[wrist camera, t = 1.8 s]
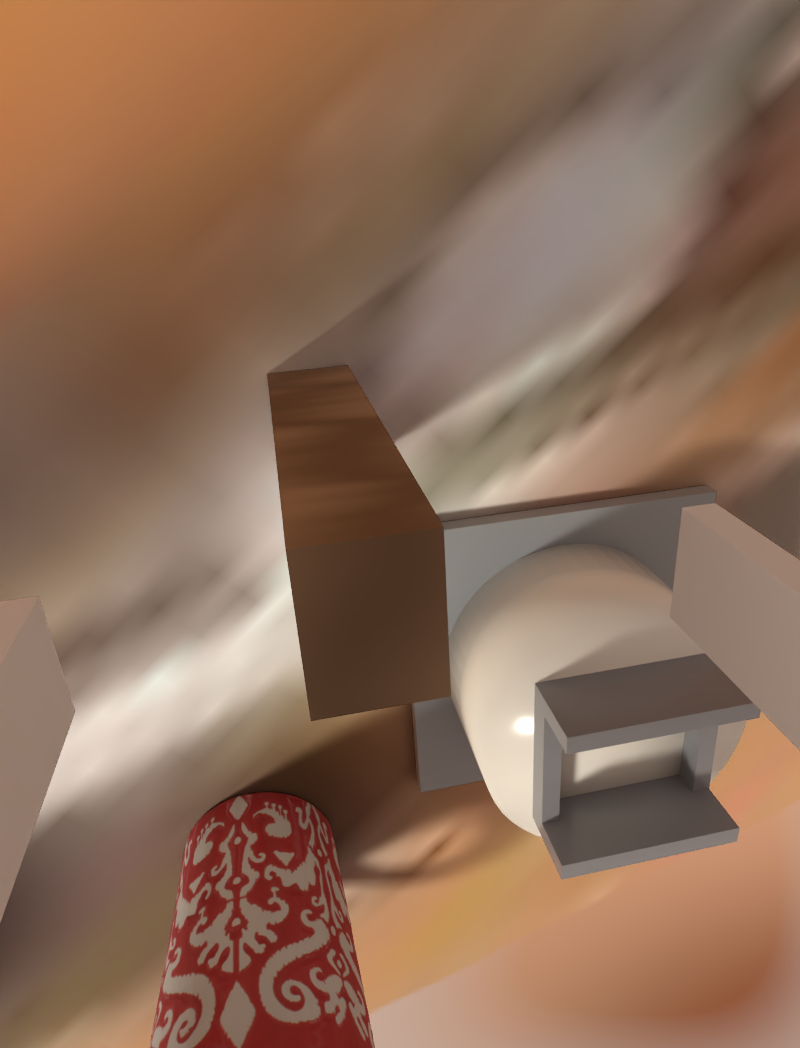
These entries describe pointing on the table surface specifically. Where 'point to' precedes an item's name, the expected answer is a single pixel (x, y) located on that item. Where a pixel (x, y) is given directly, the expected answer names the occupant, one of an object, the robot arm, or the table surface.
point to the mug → (261, 935)
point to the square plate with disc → (582, 683)
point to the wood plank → (357, 550)
